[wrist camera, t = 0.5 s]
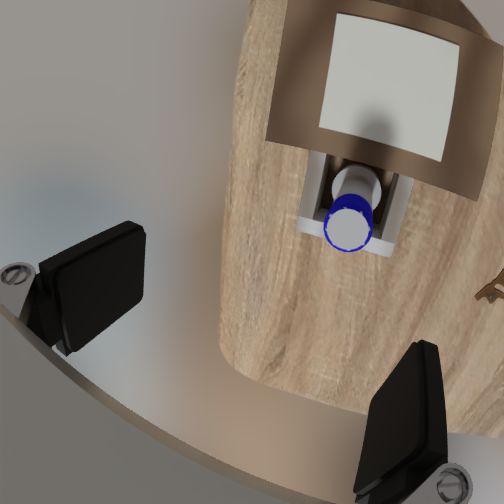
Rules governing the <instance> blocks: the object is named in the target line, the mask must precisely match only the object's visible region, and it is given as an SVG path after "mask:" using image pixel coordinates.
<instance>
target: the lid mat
mask: <svg viewBox="0 0 504 504" xmlns="http://www.w3.org/2000/svg"><path fill="white" fill-rule="evenodd" d="M458 57H459V46H458V45H455V44H453V43H450V42H447V41H445V40H442V39H439V38H436V37H433V36H430V35H427V34H424V33H421V32H417V31H414V30H411V29H407V28H404V27H400V26H396V25H392V24H388V23H384V22H380V21H375V20H371V19H366V18H361V17H356V16H350V15H344V14H338V13H337V17H336V24H335V31H334V38H333V45H332V51H331V58H330V64H329V70H328V76H327V82H326V88H325V94H324V100H323V106H322V111H321V117H320V122H319V127H321V128H326V129H330V130H334V131H339V132H343V133H347V134H351V135H355V136H359V137H362V138H366V139H370V140H373V141H377V142H381V143H384V144H387V145H391V146H394V147H397V148H401V149H404V150H407V151H410V152H413V153H416V154H419V155H422V156H425V157H428V158H431V159H434V160H437V161H439V162H441V159H442V155H443V150H444V146H445V141H446V136H447V131H448V126H449V121H450V116H451V110H452V104H453V98H454V91H455V84H456V76H457V67H458Z"/></svg>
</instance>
